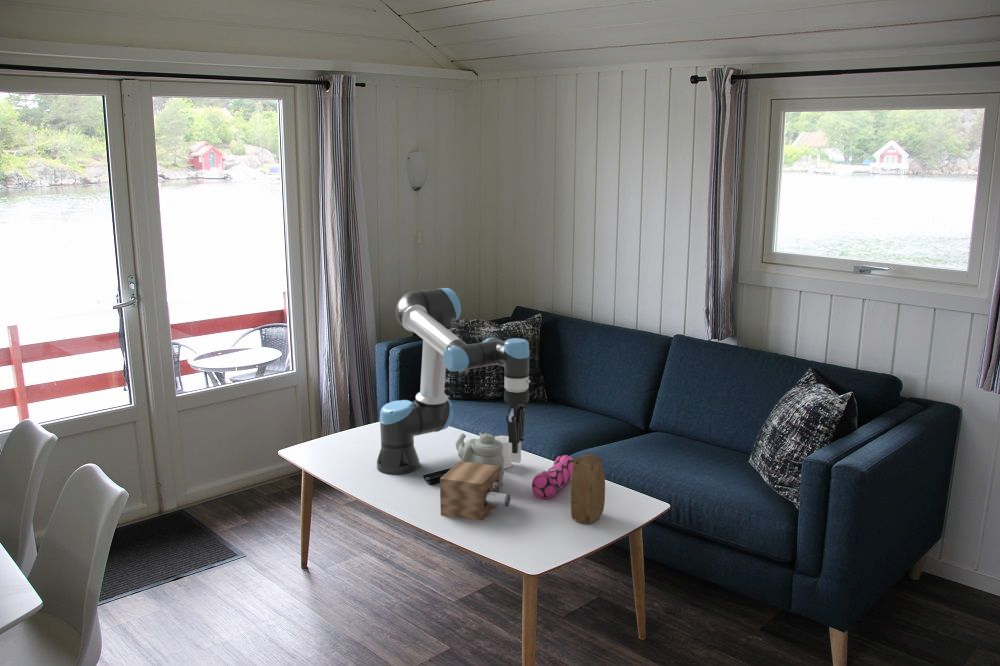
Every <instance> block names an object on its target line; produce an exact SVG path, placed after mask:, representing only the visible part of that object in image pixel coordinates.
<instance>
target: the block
mask: <svg viewBox="0 0 1000 666" xmlns="http://www.w3.org/2000/svg"><path fill="white" fill-rule="evenodd" d="M571 477H572V478H571V479H570V514H571V518H572V519H573V520H575V521H576V522H578V523H580V524H593V523H596V522H597V521H598V520H600V517H601V516H602V514H603V512H604V509H605V501H606V500H605V499H606V476H605V471H604V468H603V462H602V457H601V456H599V455H597V454H592V453H584V454H582V455H580V456H578V457H576V458H575V459H574V462H573V471H572V476H571Z"/></svg>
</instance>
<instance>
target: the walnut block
mask: <svg viewBox="0 0 1000 666" xmlns="http://www.w3.org/2000/svg"><path fill="white" fill-rule="evenodd" d="M495 482H498V484H499V490H498V493H501V486H500V466H495V465H486V464H478V463H470V462H462V460H461V461H460V460H459V461H458V462H457V463H455V465H453V466H452V467H451V468H449V470H448V471H447V472H446V473H444V474H443V475H442V476H441V477H440V478H439V498H440V499H439V501H440V502H439V503H440V516H446V517H451V518H452V517H453V518H458V519H459V518H460V519H466V520H472V521H480V522H481V521H482V522H483V521H484V520H485V519H486V518H487V517H488V516H489V515H490V513H491V512H492V511H493V510H494V509H495V508H496V506H497V505H490V504H484V493H485V492H486V491H487V492H493V484H494V483H495Z"/></svg>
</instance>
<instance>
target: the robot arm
mask: <svg viewBox="0 0 1000 666" xmlns="http://www.w3.org/2000/svg"><path fill="white" fill-rule="evenodd" d="M461 314H462V308H461V303H460V299H459V297H458V295H457V294H456V292H455V291H454V290H453V289H451V288H448V287H444V288H442V287H437V288H430V289H422V290H412V291H409V292H406V293H405V294H403V295H402V296H401V297H400V298H399V300H398V301H397V304H396V307H395V316H396V319H397V322H398V323H399V324H400V326H402V328H403V329H405V330H406V331H408V332H413V333H415V335H417V336H418V337H419V338H421V339H422V351H421V352H422V353H421V355H422V356H421V371H420V389H419V390H420V391H419V392H417V393H416V395H415V401H414V402H412V401H411V400H408V399H401V400H394V401H390V402H387V403H385V404H384V405H383V406H381V409H380V412H379V425H380V444H381V445H380V450H379V452H378V457H377V460H376V469H377V470H378V471H379V472H381V473H385V474H389V475H401V474H407V473H412V472H414V471H416V470H418V468H420V459H419V456H418V453H417V450H416V446H415V442H414V438H415V437H417V436H421V435H425V434H429V433H438V432H440V431H443V430H446V429H447V428H449V427H450V425H451V424H452V423H453V419H454V409H453V404H452V402H451V400H450V399H449V396H448V395H447V394H446V393H445V385H446V384H445V383H446V382H445V381H446V369H447V370H448V371H449V372H462V371H465V370H467V371H468V370H471V369H476V368H484V367H489V366H495V365H496V366H497V365H498V366H501V367H503V368H504V377H503V378H504V379H503V380H504V381H503V383H504V384H503V387H504V391H503V392H504V394H503V398H504V399H503V401H504V402H505V403H507V404H509V407H508V415H506V416H505V420H506V424H507V436H508V438H509V441H508V442H509V443H511V462H512V463H518V464H520V463H521V462H522V442H524V441H525V438H524V433H525V430H524V429H525V418H526V412H527V405H525V404H527V403H528V402H529V401H530V400H529V399H530V398H529V397H530V396H529V395H530V390H529V387H530V386H529V385H530V383H531V379H529V378H530V356H531V355H530V354H531V353H530V343H529V341H528V340H527V339H524V338H519V337H517V338H516V337H515V338H509V339H506V340H505V341H504V340H502V339H500V338H495V337H488V338H486V339H484V340H483V341H482V342H481V341H480V342H475V343H470V344H469V343H468V344H467V343H466V341H464V340H462V339H461V338H459V337H458V336H457V335H456V334H454V333H453V332H452V331H451V330H453V326H454V321H457V320H458V319H459V318H460V316H461Z"/></svg>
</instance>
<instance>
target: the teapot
mask: <svg viewBox="0 0 1000 666" xmlns="http://www.w3.org/2000/svg"><path fill="white" fill-rule="evenodd" d="M478 436H479V438H471V439H468V440H467V441H466V442H465V441H464V440H465V439H466V437H467V435H466V434H465V433H461V435H460V436H459V437H458V439H457V440H456V441H455V448H456V450H457V455H458V457H459V459H460V460H461V461H462V462H470V463H478V464H486V465H495V466H500V487H501V486H502V485H503V483H504V482H503V481H504V474H505V470H504V469H503V465H504V458H503V455H502V453H501V452H502V448H503V445H502V442H501V441H499V440H496V439H495V436H494V435H492V434H491V433H489V432H485V433H483V432H479V433H478Z"/></svg>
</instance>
